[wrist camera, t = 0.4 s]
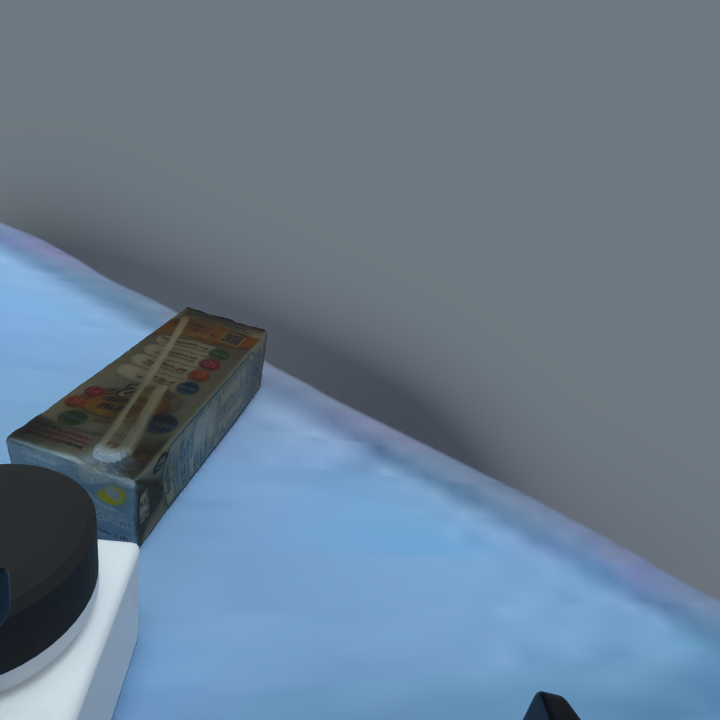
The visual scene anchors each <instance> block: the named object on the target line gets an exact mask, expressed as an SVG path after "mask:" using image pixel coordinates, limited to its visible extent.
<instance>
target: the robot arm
mask: <svg viewBox="0 0 720 720" xmlns="http://www.w3.org/2000/svg"><path fill="white" fill-rule="evenodd" d="M10 603H11V601H10V583H9V572H8V571H7V570H6V569H5V568H3V567H0V626H1V625H2V623H3V622H4V620H5V618H6V617H7V615H8V612H9V609H10ZM523 720H581V719H580V718H579V717H578V715H577V714H576V713H575V711H574V710H573V708H572V707H571V706H570V704H569V703H568V702H567V701H566V700H565V699H564V698H563V697H562V696H559V695H556V694H551V693H547V692H543V691H540V692H538V693H536V695H535V696H534V698H533V700H532V702H531V704H530V706H529V708H528V710H527V712H526V714H525V716H524V718H523Z"/></svg>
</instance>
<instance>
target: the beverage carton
mask: <svg viewBox="0 0 720 720" xmlns="http://www.w3.org/2000/svg"><path fill="white" fill-rule="evenodd" d="M266 337H267V332H266V331H265V330H264V329H259V328H256V327H251V326H247V325H244V324H241V323H236V322H234V321H233V320H230V319H227V318H223V317H217V316H214V315H209V314H206V313H204V312H202V311H199V310H195V309H192V308H189V307H187V308H186V309H185V310H184V311H183V312H181V313H179V314H178V315H176V316H175V317H173V318H172V319H170V320H169V321H168V322H167V323H165V324H164V325H163V326H161V327H160V328H158V329H157V330H156V331H154V332H153V333H152V334H150V335H149V336H147V337H146V338H145V339H143V340H142V341H141V342H139V343H138V344H137V345H135V346H134V347H132V348H131V349H130V350H129V351H127V352H126V353H124V354H123V355H122V356H121V357H119V358H118V359H116V360H115V361H114V362H112V363H111V364H109V365H107V366H106V367H105V368H104V369H103V370H101V371H100V372H98V373H97V374H95V375H94V376H93V377H91V378H90V379H88V380H87V381H86V382H84V383H83V384H81V385H80V386H78V387H77V388H76V389H74V390H73V391H72V392H70V393H69V394H68V395H66V396H65V397H64V398H62V399H61V400H59V401H58V402H57V403H55V404H54V405H53V406H51V407H50V408H49V409H48V410H47V411H45V412H44V413H42V414H40V415H38V416H36V417H35V418H33V419H32V420H31V421H29V422H28V423H27V424H26V425H24V426H22V427H21V428H19V429H17V430H15V431H14V432H13V433H12V434H10V435H9V436H8V437H7V440H6V442H7V446H8V452H9V456H10V460H11V464H25V465H34V466H39V467H43V468H47V469H50V470H53V471H56V472H59V473H62V474H64V475H66V476H68V477H70V478H72V479H73V480H75V481H76V482H77V483H79V484H80V485H81V486H82V487H83V488H84V489H85V490H86V491H87V492H88V494H89V495H90V497H91V499H92V501H93V503H94V506H95V510H96V517H97V538H100V539H103V540H110V541H121V542H132V543H135V544H137V545H138V547H140V545H141V544H142V543H143V541H144V540H145V539H146V537H147V536H148V535H149V534H150V532H151V531H152V530H153V529H154V527H155V526H156V524H157V523H158V521H159V520H160V519H161V517H162V516H163V515H164V513H165V512H166V511H167V509H168V508H169V507H170V505H171V504H172V503H173V501H174V500H175V499H176V498H177V496H178V495H179V494H180V493H181V491H182V490H183V489H184V487H185V486H186V485H187V483H188V482H189V481H190V479H191V478H192V477H193V475H194V474H195V473H196V471H197V470H198V469H199V467H200V466H201V465H202V463H203V462H204V461H205V459H206V458H207V457H208V455H209V454H210V453H211V452H212V450H213V449H214V448H215V447H216V445H217V444H218V443H219V441H220V440H221V439H222V437H223V436H224V435H225V433H226V432H227V431H228V429H229V428H230V427H231V425H232V424H233V423H234V421H235V420H236V419H237V417H238V416H239V415H240V413H241V412H242V411H243V409H244V408H245V407H246V405H247V404H248V402H249V401H250V400H251V398H252V397H253V396H254V394H255V393H256V391H257V390H258V389H259V388H260V385H261V378H262V369H263V362H264V354H265V346H266Z"/></svg>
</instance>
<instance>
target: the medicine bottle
mask: <svg viewBox="0 0 720 720" xmlns="http://www.w3.org/2000/svg"><path fill="white" fill-rule="evenodd" d="M139 557H140V549H139V547H138V545H137V544H135V543H132V542H121V541H110V540H100V539H98V538H97V517H96V510H95V506H94V503H93V501H92V499H91V497H90V495H89V494H88V492H87V491H86V490H85V489H84V488H83V487H82V486H81V485H80V484H79V483H77V482H76V481H75V480H73V479H72V478H70V477H68V476H66V475H64V474H62V473H59V472H56V471H53V470H50V469H47V468H43V467H39V466H34V465H25V464H0V567H3V568H5V569H6V570H7V571H8V572H9V583H10V601H11V603H10V609H9V612H8V615H7V617H6V618H5V620H4V622H3V623H2V625H1V626H0V720H112V717H113V713H114V710H115V707H116V704H117V701H118V698H119V695H120V692H121V689H122V685H123V682H124V679H125V676H126V673H127V670H128V667H129V664H130V661H131V658H132V654H133V651H134V648H135V645H136V642H137V639H138V607H139Z"/></svg>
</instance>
